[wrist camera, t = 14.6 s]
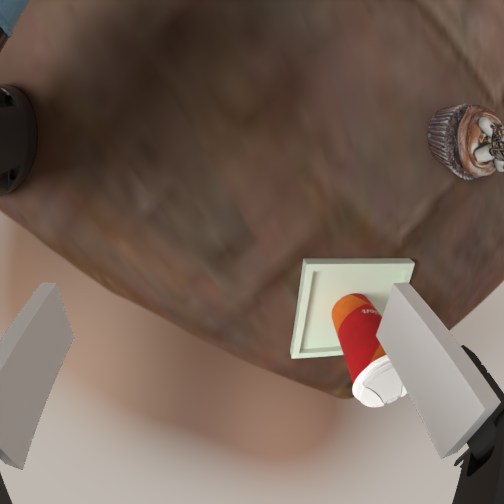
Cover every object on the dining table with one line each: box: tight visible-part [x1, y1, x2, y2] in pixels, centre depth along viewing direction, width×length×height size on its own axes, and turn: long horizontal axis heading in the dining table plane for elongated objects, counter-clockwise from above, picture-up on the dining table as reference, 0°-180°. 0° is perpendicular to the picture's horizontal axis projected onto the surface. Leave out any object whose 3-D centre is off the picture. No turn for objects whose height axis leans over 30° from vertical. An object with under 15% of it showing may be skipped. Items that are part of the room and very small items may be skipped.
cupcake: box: [428, 104, 504, 180], centre depth 29 cm, size 10×10×10 cm
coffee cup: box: [331, 293, 407, 407], centre depth 37 cm, size 8×8×15 cm
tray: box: [290, 258, 415, 358], centre depth 43 cm, size 16×16×2 cm
